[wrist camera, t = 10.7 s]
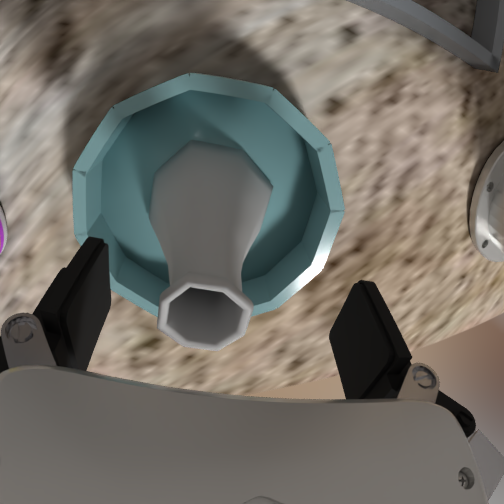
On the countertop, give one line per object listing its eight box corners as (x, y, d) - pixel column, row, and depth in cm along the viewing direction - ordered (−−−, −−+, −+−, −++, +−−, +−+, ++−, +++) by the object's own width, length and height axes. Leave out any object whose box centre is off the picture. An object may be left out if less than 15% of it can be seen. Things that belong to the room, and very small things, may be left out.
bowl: (350, 108, 17) (375, 118, 14) (287, 299, 25) (296, 332, 22) (104, 65, 14) (80, 65, 11) (96, 274, 22) (82, 305, 19)
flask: (185, 117, 16) (146, 174, 8) (293, 180, 19) (355, 285, 10) (130, 220, 19) (78, 341, 11) (230, 268, 22) (239, 397, 13)
